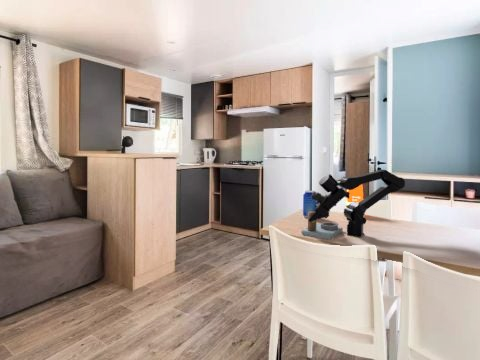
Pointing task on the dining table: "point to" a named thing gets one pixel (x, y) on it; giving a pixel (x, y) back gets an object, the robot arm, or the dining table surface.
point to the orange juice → (355, 195)
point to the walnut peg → (311, 224)
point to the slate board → (324, 230)
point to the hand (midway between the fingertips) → (309, 220)
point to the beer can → (308, 203)
